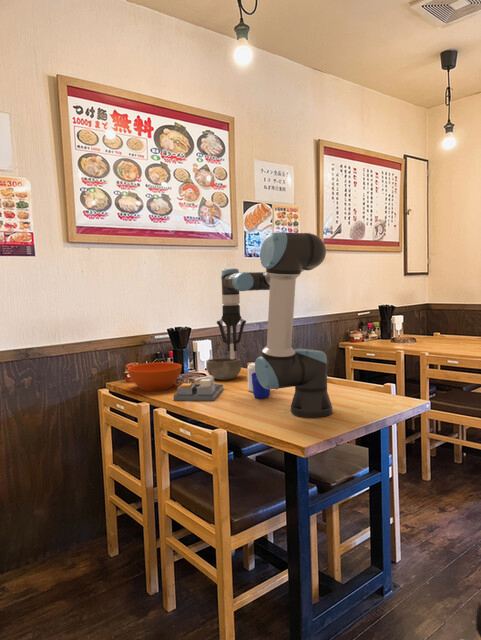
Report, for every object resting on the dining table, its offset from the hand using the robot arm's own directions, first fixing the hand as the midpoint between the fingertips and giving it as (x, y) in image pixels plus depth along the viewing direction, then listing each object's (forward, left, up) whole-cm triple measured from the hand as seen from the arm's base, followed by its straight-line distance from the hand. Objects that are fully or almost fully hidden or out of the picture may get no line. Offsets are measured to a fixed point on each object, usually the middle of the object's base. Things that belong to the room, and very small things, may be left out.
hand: (232, 358), depth 200 cm
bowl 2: (+33, +10, -16) cm, 38 cm away
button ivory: (-8, +10, -11) cm, 17 cm away
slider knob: (0, +10, -13) cm, 17 cm away
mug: (-8, -13, -16) cm, 22 cm away
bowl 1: (+11, +39, -16) cm, 44 cm away
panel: (-2, +15, -16) cm, 22 cm away
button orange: (-8, +19, -13) cm, 24 cm away
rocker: (+6, +15, -10) cm, 19 cm away
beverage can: (+6, -10, -16) cm, 20 cm away
